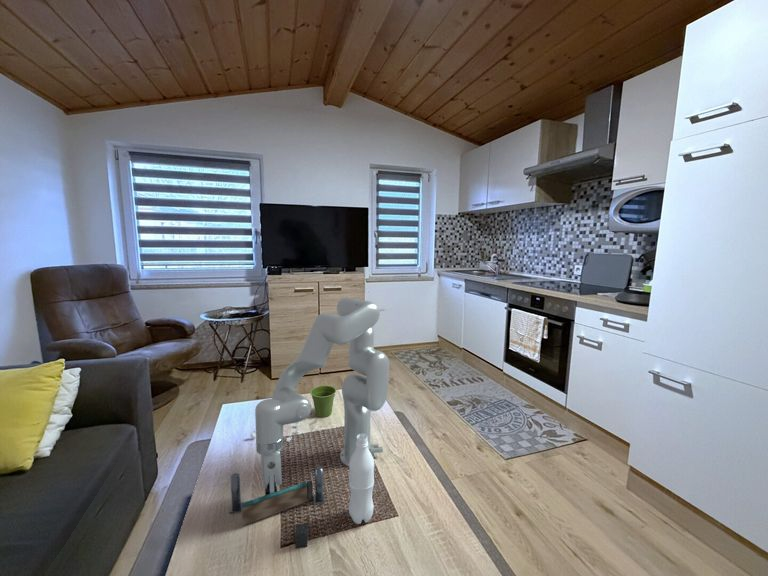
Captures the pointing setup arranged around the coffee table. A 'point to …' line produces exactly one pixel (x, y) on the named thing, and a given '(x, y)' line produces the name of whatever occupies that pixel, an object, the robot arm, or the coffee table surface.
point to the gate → (276, 502)
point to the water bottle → (361, 481)
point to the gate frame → (301, 529)
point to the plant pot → (323, 400)
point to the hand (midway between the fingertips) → (271, 499)
